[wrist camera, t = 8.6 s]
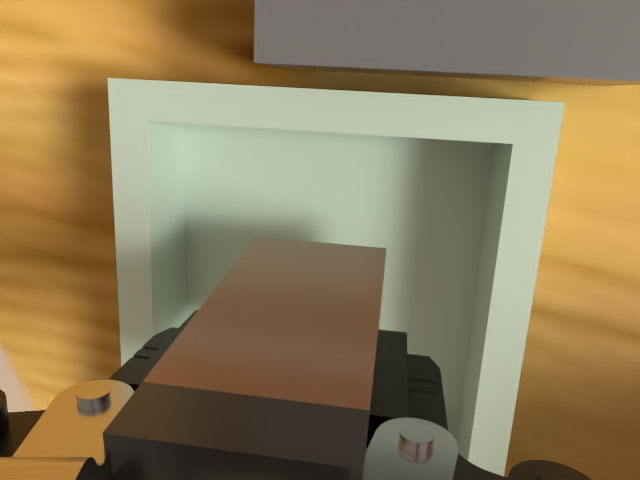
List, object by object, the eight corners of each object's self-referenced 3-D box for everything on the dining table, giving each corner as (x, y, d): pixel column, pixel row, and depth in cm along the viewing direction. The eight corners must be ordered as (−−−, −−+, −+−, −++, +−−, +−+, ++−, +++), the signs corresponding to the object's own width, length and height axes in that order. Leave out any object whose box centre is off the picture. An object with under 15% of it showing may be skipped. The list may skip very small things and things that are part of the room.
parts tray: (159, 80, 17) (107, 77, 14) (533, 100, 16) (565, 102, 13) (167, 425, 20) (126, 482, 17) (479, 467, 19) (493, 537, 16)
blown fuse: (255, 236, 15) (102, 433, 7) (386, 248, 14) (362, 469, 7) (255, 350, 16) (123, 617, 9) (376, 364, 16) (347, 658, 8)
